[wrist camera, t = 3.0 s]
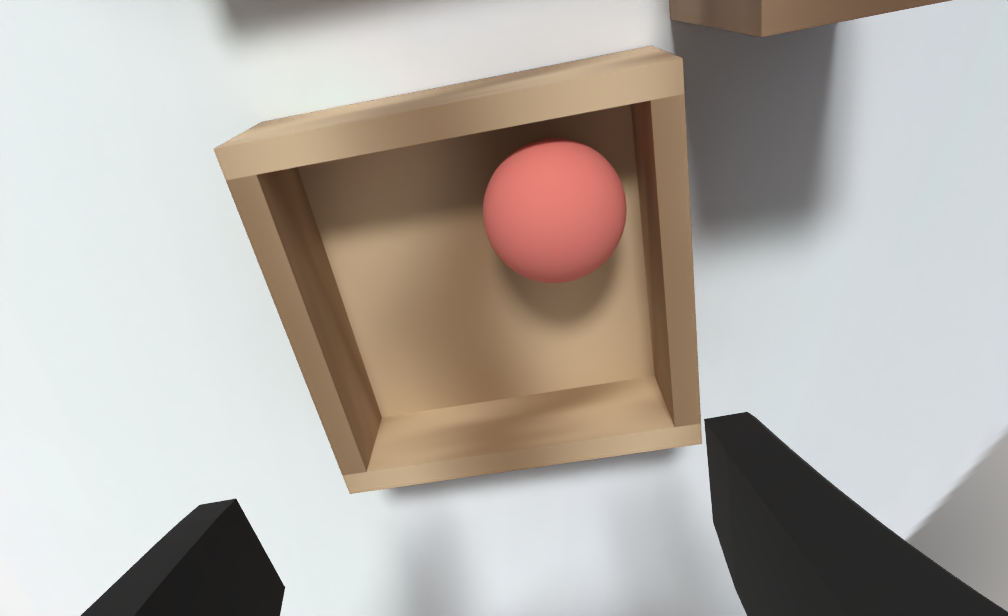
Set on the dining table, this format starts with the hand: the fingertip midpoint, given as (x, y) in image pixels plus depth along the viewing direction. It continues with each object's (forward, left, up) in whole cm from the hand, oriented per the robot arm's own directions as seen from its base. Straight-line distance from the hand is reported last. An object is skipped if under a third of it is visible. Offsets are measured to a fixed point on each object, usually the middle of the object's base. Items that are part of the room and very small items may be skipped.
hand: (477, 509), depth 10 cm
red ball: (-2, -2, -9) cm, 9 cm away
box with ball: (0, 0, -9) cm, 9 cm away
